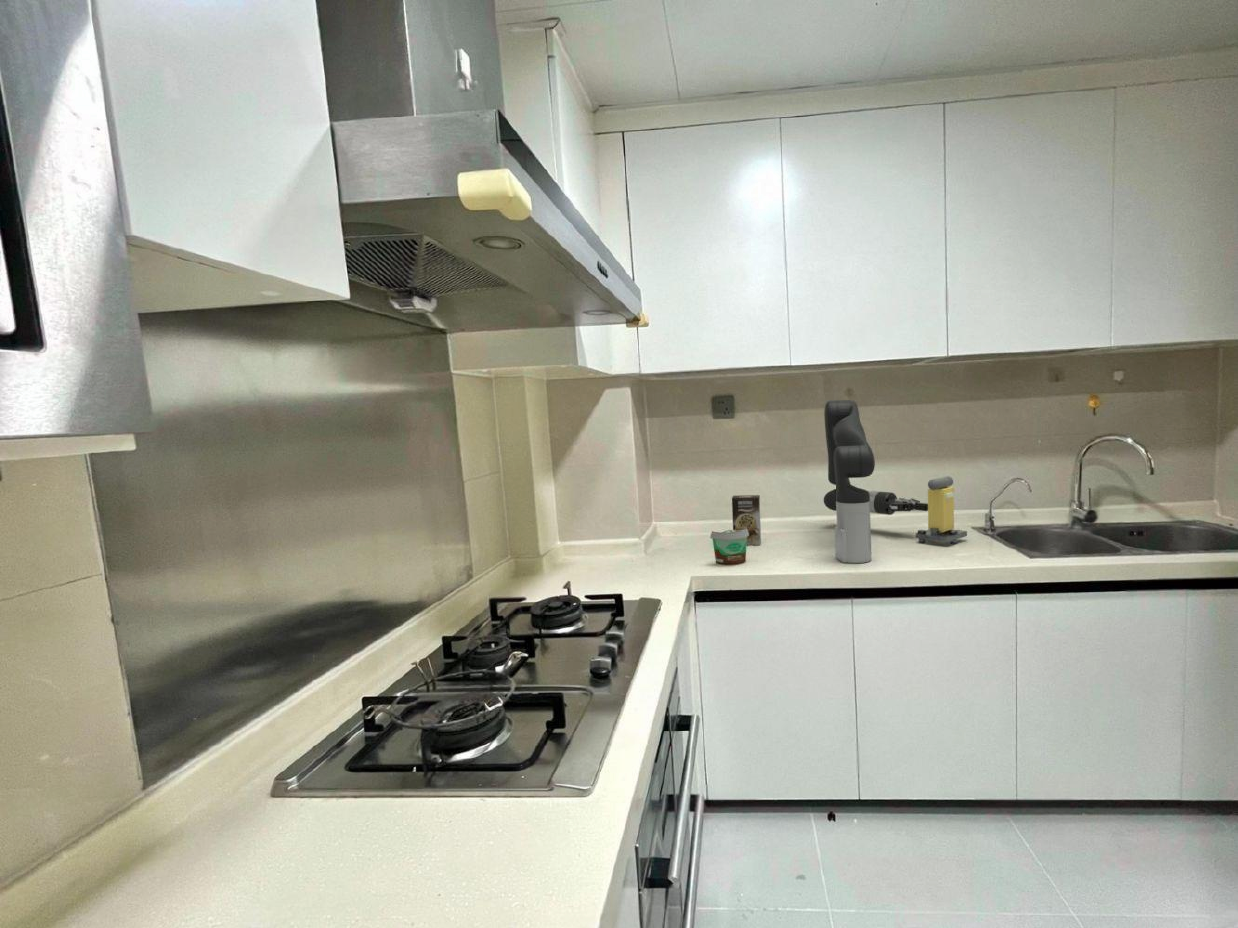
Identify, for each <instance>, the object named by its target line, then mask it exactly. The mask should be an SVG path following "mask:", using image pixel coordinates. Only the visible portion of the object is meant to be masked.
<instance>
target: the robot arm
mask: <svg viewBox="0 0 1238 928" xmlns="http://www.w3.org/2000/svg"><path fill="white" fill-rule="evenodd" d="M823 417H824V428H825V440H826V448H827V461H828V462H827V463H828V465H827V469H828V470H827V478H828V482H829V483H830V484H831V485H834V486H835V485H836V489H835V488H834V489H831V490H829V491H828V492H827V493H826V494H825V495H824V496H823V503H824V505H825V507H826V508H827V509H829V510H831V511H833V512H835V513H836V514H835V515H836V525H835V526H834V548H835V549H834V553H835V555H834V556H835V559H836V560H838V561H839V562H841V563H849V564H850V563H851V564H862V563H868V562H871V561H872V529H871V513H872V514H877V515H879V514H881V515H887V516H891V515H893V514H895V512H911V511H912V512H913V511H920V512H928V502H927V503H924V502H920V500H917V499H915V498H909V499H907V498H905V497H899V498H898V497H897V495H896V493H894V492H889V491H888V492H887V491H878V490H877V491H876V490H866V489H865V488H864V489H863V488H860V487H857V486H855V485H853V484H851V481H850V479H853V478H854V479H855V478H867V477H870V476H871V475H872V474H873V473H874V471H875V468H876V467H875V466H876V463H875V461H876V459H875V455H874V452H873V449H872V448H871V446H870V444H869V443H868V441H867V437H866V433H865V431H864V427H863V425H862V422H861V418H860V411H859V406H858V404H857V403H856V402H855V401H854V400H850V399H842V400H841V399H840V400H828V401H826V403H825V405H824V416H823Z"/></svg>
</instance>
